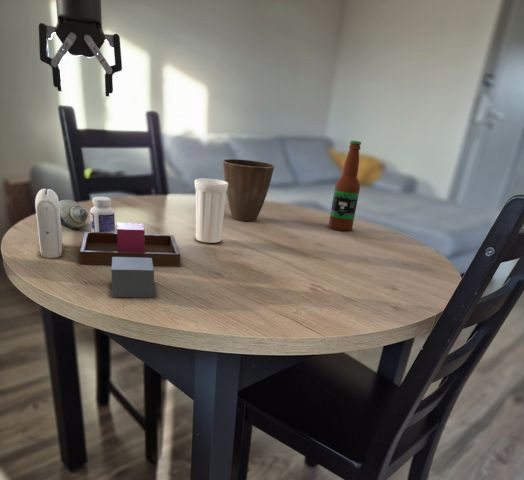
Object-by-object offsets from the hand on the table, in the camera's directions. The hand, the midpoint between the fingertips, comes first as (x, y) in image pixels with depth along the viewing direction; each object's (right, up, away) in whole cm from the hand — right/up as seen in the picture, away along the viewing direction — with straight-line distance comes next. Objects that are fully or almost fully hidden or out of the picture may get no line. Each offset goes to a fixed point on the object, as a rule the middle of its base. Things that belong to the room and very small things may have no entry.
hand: (84, 93), depth 92 cm
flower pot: (+28, -9, +55) cm, 63 cm away
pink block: (+6, -28, +13) cm, 31 cm away
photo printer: (-10, -28, +9) cm, 31 cm away
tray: (+6, -28, +13) cm, 31 cm away
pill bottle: (-4, -22, +22) cm, 32 cm away
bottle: (+58, -12, +57) cm, 82 cm away
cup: (+21, -22, +29) cm, 42 cm away
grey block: (+11, -38, -5) cm, 40 cm away
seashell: (-13, -19, +27) cm, 35 cm away
